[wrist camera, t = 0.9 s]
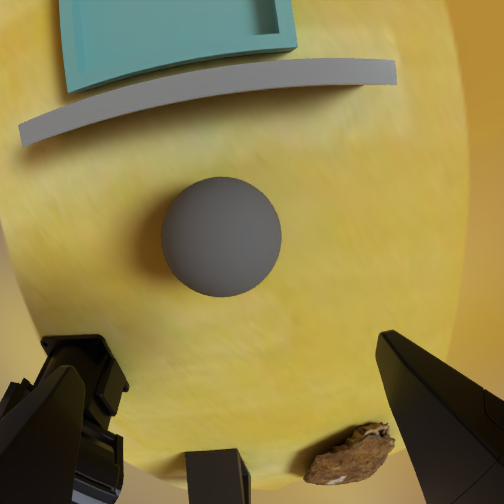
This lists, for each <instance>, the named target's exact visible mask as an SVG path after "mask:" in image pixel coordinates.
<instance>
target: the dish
mask: <svg viewBox="0 0 504 504" xmlns="http://www.w3.org/2000/svg"><path fill="white" fill-rule="evenodd" d="M59 14H60V29H61V41H62V51H63V60H64V68H65V76H66V83H67V90H68V93H77V92H83V91H86V90H89V89H92V88H95V87H98V86H101V85H104V84H107V83H111V82H114V81H118V80H121V79H125V78H128V77H132V76H136V75H140V74H144V73H148V72H152V71H156V70H160V69H165V68H169V67H174V66H179V65H184V64H189V63H195V62H200V61H206V60H212V59H219V58H226V57H234V56H242V55H251V54H261V53H272V52H287V51H293V50H294V49H296V48H297V47H298V45H297V38H296V31H295V24H294V17H293V11H292V4H291V0H59Z"/></svg>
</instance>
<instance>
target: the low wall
mask: <svg viewBox="0 0 504 504" xmlns="http://www.w3.org/2000/svg"><path fill="white" fill-rule="evenodd" d="M332 85H397V78H396V67H395V60H380V59H355V58H318V59H293V60H278V61H265V62H255V63H246V64H238V65H230V66H223V67H216V68H210V69H203V70H198V71H192V72H187V73H182V74H177V75H172V76H167V77H163V78H158V79H154V80H150V81H145V82H141V83H137V84H134V85H130V86H126V87H122V88H119V89H115V90H112V91H109V92H105V93H102V94H99V95H96V96H92V97H89V98H86V99H83V100H80V101H78V102H75V103H72V104H69V105H66V106H63V107H61V108H58V109H56V110H53V111H50V112H48V113H45V114H43V115H40V116H38V117H35V118H33V119H31V120H28V121H26V122H24V123H22V124H19V125H18V126H19V131H20V136H21V141H22V146H23V147H25V146H28V145H31V144H33V143H36V142H39V141H42V140H45V139H48V138H51V137H54V136H57V135H60V134H63V133H66V132H69V131H72V130H75V129H78V128H81V127H84V126H88V125H91V124H94V123H98V122H101V121H104V120H108V119H112V118H115V117H119V116H123V115H127V114H130V113H134V112H139V111H143V110H147V109H151V108H156V107H160V106H165V105H170V104H175V103H180V102H185V101H190V100H196V99H201V98H207V97H214V96H220V95H227V94H234V93H242V92H250V91H259V90H269V89H279V88H292V87H308V86H332Z"/></svg>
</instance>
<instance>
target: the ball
mask: <svg viewBox="0 0 504 504" xmlns="http://www.w3.org/2000/svg"><path fill="white" fill-rule="evenodd" d="M161 238H162V248H163V253H164V256H165V259H166V262H167V264H168V266H169V267H170V269H171V270H172V272H173V273H174V275H175V276H176V277H177V278H178V279H179V280H180V281H181V282H182V283H183V284H184V285H186V286H187V287H189V288H190V289H192V290H194V291H196V292H198V293H201V294H204V295H207V296H212V297H230V296H235V295H239V294H242V293H245V292H247V291H249V290H251V289H252V288H254V287H256V286H257V285H258V284H260V283H261V282H262V281H263V280H264V279H265V278H266V277H267V276H268V274H269V273H270V272H271V270H272V269H273V267H274V265H275V263H276V261H277V258H278V256H279V252H280V247H281V239H282V238H281V227H280V221H279V218H278V215H277V213H276V211H275V209H274V207H273V205H272V204H271V202H270V201H269V199H268V198H267V197H266V196H265V195H264V194H263V193H262V192H261V191H259V190H258V189H257V188H255V187H254V186H252V185H251V184H249V183H247V182H244V181H242V180H239V179H236V178H230V177H213V178H208V179H204V180H202V181H199V182H196V183H195V184H193V185H191V186H189V187H188V188H186V189H185V190H183V191H182V192H181V193H180V194H179V195H178V196H177V197H176V199H175V200H174V201H173V202H172V204H171V205H170V207H169V209H168V211H167V213H166V216H165V218H164V222H163V226H162V234H161Z"/></svg>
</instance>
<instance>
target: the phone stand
mask: <svg viewBox="0 0 504 504" xmlns="http://www.w3.org/2000/svg"><path fill="white" fill-rule="evenodd" d="M185 457H186V471H187V484H188V495H189V504H251V476H250V473H249V471H248V470H247V468H246V466H245V464H244V462H243V460H242V458H241V455H240V453H239V451H238V449H228V450H217V451H202V452H186V453H185Z"/></svg>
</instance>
